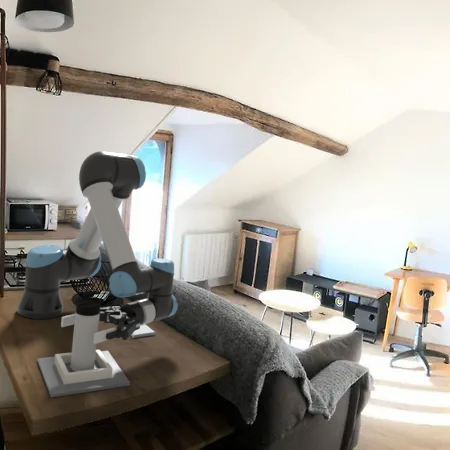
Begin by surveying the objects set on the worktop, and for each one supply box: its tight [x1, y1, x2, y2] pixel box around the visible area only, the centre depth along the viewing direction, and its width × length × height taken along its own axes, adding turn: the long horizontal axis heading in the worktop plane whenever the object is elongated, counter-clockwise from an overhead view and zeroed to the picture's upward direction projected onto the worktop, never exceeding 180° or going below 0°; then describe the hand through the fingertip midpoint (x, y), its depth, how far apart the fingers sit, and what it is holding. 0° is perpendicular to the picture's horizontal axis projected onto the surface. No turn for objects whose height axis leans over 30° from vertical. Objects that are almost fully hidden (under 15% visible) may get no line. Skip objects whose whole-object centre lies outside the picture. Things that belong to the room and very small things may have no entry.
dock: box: [36, 349, 131, 398], centre depth 123 cm, size 20×20×3 cm
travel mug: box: [70, 296, 102, 372], centre depth 122 cm, size 6×7×20 cm
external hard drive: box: [124, 324, 156, 339], centre depth 158 cm, size 2×8×12 cm
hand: (77, 330), depth 119 cm, fingers open, 13 cm apart
